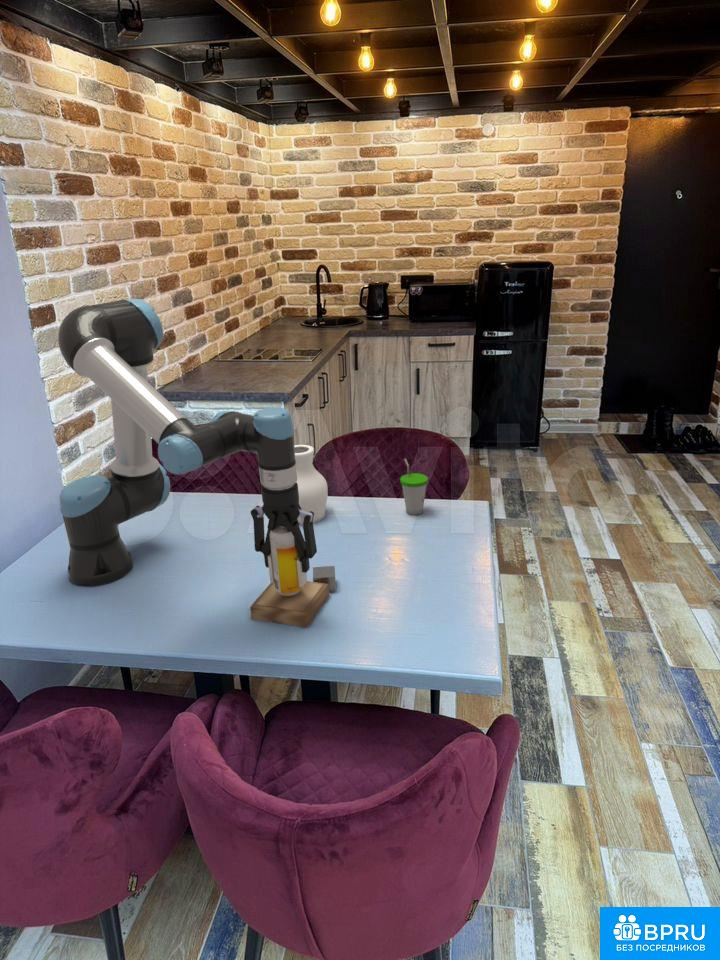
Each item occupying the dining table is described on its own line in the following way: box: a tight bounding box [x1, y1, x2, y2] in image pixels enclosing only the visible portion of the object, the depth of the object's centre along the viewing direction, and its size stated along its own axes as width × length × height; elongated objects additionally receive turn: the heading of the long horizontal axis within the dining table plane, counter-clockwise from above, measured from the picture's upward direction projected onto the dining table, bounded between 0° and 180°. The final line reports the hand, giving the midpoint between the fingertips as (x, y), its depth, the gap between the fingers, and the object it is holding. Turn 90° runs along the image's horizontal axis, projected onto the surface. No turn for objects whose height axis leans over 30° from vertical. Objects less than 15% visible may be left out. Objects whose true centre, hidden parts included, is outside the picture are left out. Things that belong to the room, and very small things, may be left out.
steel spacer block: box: [312, 565, 337, 593], centre depth 158 cm, size 5×5×4 cm
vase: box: [294, 444, 329, 525], centre depth 191 cm, size 14×14×20 cm
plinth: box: [249, 580, 330, 629], centre depth 150 cm, size 13×13×3 cm
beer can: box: [269, 526, 302, 596], centre depth 146 cm, size 6×6×15 cm
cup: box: [399, 458, 429, 517], centre depth 191 cm, size 8×8×15 cm
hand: (288, 581), depth 149 cm, fingers closed on beer can, 6 cm apart
